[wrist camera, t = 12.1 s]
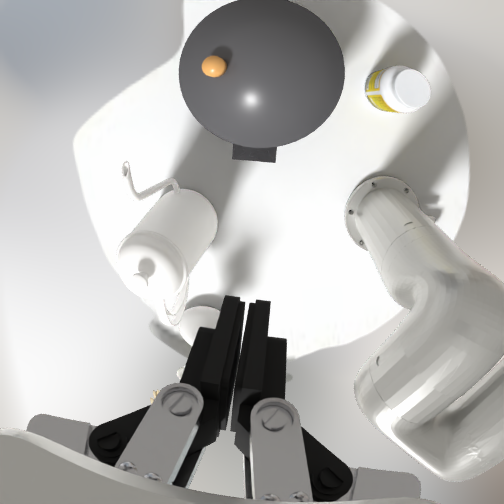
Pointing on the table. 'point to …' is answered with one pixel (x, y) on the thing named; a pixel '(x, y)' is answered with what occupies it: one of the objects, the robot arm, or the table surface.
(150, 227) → the coffeepot
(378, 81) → the pill bottle
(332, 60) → the cooker lid
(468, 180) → the table surface
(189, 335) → the flower in vase
